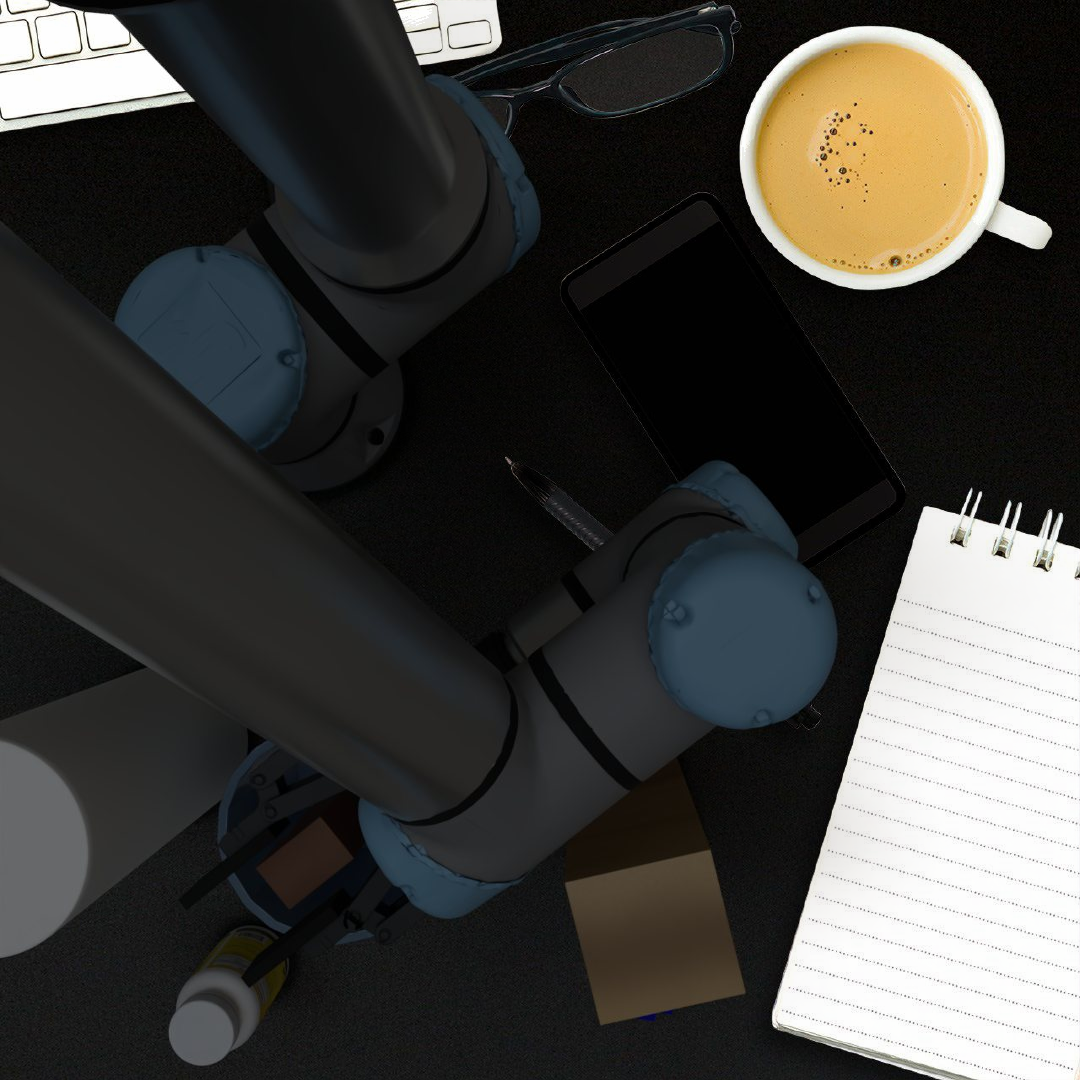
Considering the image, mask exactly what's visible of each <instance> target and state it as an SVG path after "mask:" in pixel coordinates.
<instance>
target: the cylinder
mask: <svg viewBox="0 0 1080 1080" xmlns="http://www.w3.org/2000/svg"><path fill="white" fill-rule="evenodd" d="M248 734H249V733H248V728H247V727H245V726H243V725H242V724H240V723H238V722H237V721H235V720H234V719H232V718H230V717H229V716H227V715H225V714H224V713H222V712H221V711H219V710H217V709H216V708H214V707H212V706H211V705H209V704H207V703H206V702H204V701H203V700H201V699H199V698H198V697H196V696H194V695H193V694H191V693H190V692H188V691H186V690H185V689H183V688H181V687H180V686H178V685H176V684H175V683H173V682H172V681H170V680H168V679H167V678H165V677H163V676H162V675H160V674H159V673H157V672H155V671H154V670H152V669H150V668H149V667H147V666H146V667H144V668H141V669H138V670H136V671H133V672H130V673H127V674H125V675H122V676H119V677H117V678H114V679H111V680H108V681H106V682H103V683H100V684H98V685H97V684H96V685H95V686H92V687H89V688H87V689H84V690H81V691H78V692H75V693H72V694H70V695H67V696H64V697H61V698H60V699H55V700H54V701H51V702H47V703H45V704H43V705H40V706H37V707H34V708H31V709H29V710H26V711H23V712H21V713H18V714H15V715H12V716H10V717H7V718H4V719H1V720H0V959H3V958H8V957H12V956H15V955H18V954H22V953H24V952H27V951H29V950H30V949H33V948H35V947H37V946H38V945H40V944H41V943H43V942H44V941H46V940H48V939H49V938H50V937H51V936H53V935H54V934H55V933H57V932H58V931H59V930H61V929H62V928H63V927H64V926H65V925H67V924H68V923H69V922H71V920H73V919H74V918H76V917H77V916H78V915H79V914H81V913H82V912H83V911H84V910H86V909H87V908H88V907H90V906H91V905H92V904H93V903H94V902H95V901H97V900H98V899H100V897H102V896H103V895H105V893H107V892H108V891H110V890H111V889H112V888H113V887H114V886H115V885H117V884H118V883H119V882H121V881H122V880H123V879H124V878H125V877H127V876H128V875H130V874H131V873H132V872H133V871H135V869H137V868H138V867H139V866H141V865H142V864H143V863H144V862H146V861H147V860H148V859H150V857H152V856H153V855H154V854H155V853H157V852H158V851H159V850H160V849H161V848H163V847H164V846H166V845H167V844H168V843H169V842H171V841H172V840H173V839H174V838H175V837H177V836H178V835H179V834H180V833H182V832H183V831H184V830H185V829H187V828H188V827H189V826H190V825H192V824H193V823H195V821H196V820H198V819H199V818H201V817H202V816H203V815H204V814H205V813H207V812H208V811H209V810H211V809H212V808H213V807H214V806H215V805H217V804H218V803H219V802H220V801H222V799H223V796H224V794H225V791H226V789H227V786H228V783H229V781H230V778H231V776H232V774H233V773H234V772H235V771H236V769H237V768H238V767H239V766H240V765H241V763H242V762H243V761H244V760H245V759H246V757H247V756H248V751H249V750H248V749H249V735H248Z"/></svg>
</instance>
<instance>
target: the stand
mask: <svg viewBox="0 0 1080 1080" xmlns="http://www.w3.org/2000/svg"><path fill="white" fill-rule="evenodd" d="M564 872H565V873H564V886H565V890H566V894H567V898H568V903H569V906H570V910H571V914H572V919H573V922H574V926H575V929H576V933H577V938H578V942H579V946H580V950H581V954H582V958H583V962H584V966H585V970H586V974H587V978H588V982H589V986H590V990H591V994H592V999H593V1002H594V1007H595V1010H596V1015H597V1018H598V1022H599V1025H600V1026H604V1025H608V1024H614V1023H619V1022H623V1021H627V1020H631V1019H637V1018H636V1017H641V1016H645V1015H650V1014H655V1013H656V1014H660V1012H664V1011H668V1010H673V1011H674V1010H678V1009H682V1008H686V1007H687V1008H688V1007H690V1006H695V1005H699V1004H705V1003H709V1002H714V1001H718V1000H722V999H727V998H732V997H736V996H740V995H746V994H747V991H746V987H745V983H744V980H743V976H742V970H741V967H740V962H739V958H738V955H737V951H736V946H735V943H734V939H733V933H732V931H731V926H730V923H729V918H728V914H727V910H726V906H725V902H724V898H723V894H722V890H721V886H720V882H719V878H718V874H717V869H716V865H715V862H714V858H713V853H712V850H711V847H710V844H709V841H708V839H707V836H706V833H705V830H704V828H703V825H702V822H701V819H700V817H699V814H698V811H697V809H696V806H695V803H694V801H693V797H692V795H691V792H690V789H689V787H688V784H687V781H686V779H685V776H684V773H683V770H682V768H681V765H680V762H679V759H678V756H677V757H675V758H674V759H673V760H671V761H670V762H669V763H668V764H666V765H665V766H664V767H662V768H661V769H660V770H658V771H657V772H656V773H654V774H653V775H652V776H651V777H649V778H648V779H647V780H645V781H643V782H642V783H640V784H639V785H638V786H636V787H635V788H634V789H632V790H631V791H630V792H629V793H627V794H626V795H625V796H624V797H622V798H621V799H620V800H619V801H617V802H616V803H615V804H614V805H612V806H611V807H610V808H609V809H607V810H606V811H605V812H603V813H602V814H601V815H600V816H598V817H597V818H596V819H595V820H593V821H592V822H591V823H590V824H588V825H587V826H586V827H584V828H583V829H582V830H581V831H579V832H578V833H577V834H576V835H574V836H573V837H572V838H571V839H569V840H568V841H567V842H566V853H565V871H564Z"/></svg>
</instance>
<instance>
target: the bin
mask: <svg viewBox="0 0 1080 1080" xmlns="http://www.w3.org/2000/svg"><path fill="white" fill-rule="evenodd" d="M280 749H281V748H279V747H278V746H276V745H274V744H273V743H271V742H269V741H268V740H266V739H265V740H264V741H262V742H260V743H259V744H258V745H257V746H256V747H254V748H253V749H252V750H251V751H250V752H249V754H247V757H246V759H245V760H244V761H243V762H242V763H241V765H240V766H239V767H238V768H237V769H236V771H235V772H234V773H233V774H232V776H231V778H230V781H229V783H228V786H227V789H226V791H225V794H224V796H223V799H221V800H220V801H221V802H220V804H219V808H218V821H217V838H216V842H217V847H218V850H219V855H220V858H221V862H222V861H223V860H224V859H226V858H227V856H226V855H225V854H224V852H223V851H222V850H221V849H220V848H219V846H218V844H219V842H220V840H221V838H222V837H223V836H224V835H225V834H226V833H227V832H228V831H229V830H231V829H232V828H233V827H234V826H235V825H237V824H238V823H239V822H240V821H242V820H243V819H244V818H245V817H247V816H248V815H249V814H250V813H252V812H253V811H254V810H255V809H257V807H258V804H259V797H258V794H257V791H256V789H254V788H253V787H252V786H251V785H250V783H249V777H250V774H251V773H252V771H253V770H255V769H256V768H257V767H258V766H260V765H261V764H262V763H263V762H265V761H266V760H267V759H268V758H270V757H271V756H272V755H273V754H275V753H276V752H277V751H278V750H280ZM317 772H318V771H317V770H315V769H313V768H312V767H310V766H309V765H307V764H305V763H304V762H302V761H300V762H299V763H297V764H296V765H295V766H294V767H292V768H291V769H290V770H288V771H287V772H286V773H285V774H283V775H284V778H285V780H286V783H287V786H289V785H291V784H293V783H296V782H298V781H300V780H302V779H304V778H306V777H309V776H311V775H313V774H315V773H317ZM312 806H313V805H312ZM312 806H310V807H308V808H305V809H303V810H301V811H299V812H297V813H294V814H292V815H290V816H288V817H287V819H288V820H289V821H290V822H291V823H290V824H289V825H288V826H287V828H286V829H285V830H284V831H283V832H282V833H281V834H280V835H279V836H278V837H277V838H276V839H275V840H274V841H273V842H271V843H270V844H269V845H268V846H266V847H265V848H264V849H263V850H261V851H260V852H259V853H258V854H256V855H255V856H254V857H253V858H251V859H250V860H249V861H248V862H246V863H245V864H244V865H243V866H241V867H240V868H239V869H238V870H236V871H235V872H234V873H233V874H231V875H230V876H229V877H228V878H227V880H228V881H229V883H230V885H231V886H232V888H233V889H234V892H235V893H236V895H237V896H238V897H239V900H240V901H241V902H242V904H243V905H244V907H245V908H246V909H248V910H249V911H250V912H251V913H252V914H254V915H255V917H257V918H258V919H259V920H260V921H262V922H263V923H264V924H265V925H267V926H268V927H269V928H270V929H272V930H274V931H276V932H279V933H282V934H284V933H286V932H287V931H288V930H289V929H291V928H292V927H293V926H294V925H296V924H297V923H298V922H299V921H301V920H302V919H303V918H305V917H306V916H307V915H308V914H310V913H311V912H312V911H313V910H315V909H316V908H317V907H318V906H320V905H321V904H322V903H323V902H325V901H326V900H327V899H328V898H330V897H331V896H332V895H334V894H335V893H336V892H337V891H339V890H340V889H341V888H342V887H343V888H344V889H345V891H346V892H347V893H348V894H349V895H350V897H351V898H352V897H354V896H355V895H356V893H357V892H358V891H359V889H360V888H361V887H362V885H363V884H364V883H365V881H366V880H367V879H368V877H369V876H370V875H371V873H372V872H373V871H374V870H375V868H376V867H377V866H378V864H377V862H376V861H375V859H374V857H373V856H372V854H371V852H370V850H369V848H368V846H367V844H366V841H365V843H364V844H363V846H362V847H361V849H360V850H359V852H358V854H357V855H356V857H355V858H354V859H353V860H352V861H351V862H350V863H348V864H347V865H346V866H345V867H343V868H342V869H341V870H340V871H338V872H337V873H336V874H334V875H333V876H332V877H331V878H329V879H328V880H327V881H326V882H324V883H323V884H322V885H321V886H319V887H318V888H317V889H316V890H314V891H313V892H312V893H311V894H309V895H308V896H307V897H306V898H304V899H303V900H302V901H301V902H299V903H298V904H297V905H295V906H294V907H293V908H292V909H290V910H289V909H288V908H287V907H286V905H285V904H284V903H283V902H282V900H281V899H280V898H279V897H278V895H277V894H276V893H275V892H274V890H273V889H272V888H271V887H270V885H269V884H268V883H267V882H266V881H265V879H264V878H263V877H262V876H261V874H260V873H259V872H258V871H257V869H256V867H257V866H258V864H259V863H260V862H261V861H262V860H263V859H264V858H265V857H266V856H267V855H268V853H269V852H270V851H271V850H272V849H273V848H274V847H275V846H276V845H277V844H278V842H279V841H280V840H281V839H282V838H283V837H284V836H285V835H286V834H287V833H288V831H289V830H290V829H291V828H292V827H293V826H294V825H295V824H296V823H297V822H298V820H299V819H300V818H301V817H302V816H303V815H304V814H305V813H306V812H307V811H308V809H309V808H311V807H312ZM404 894H405V893H404V891H403V890H402V889H401V888H400V887H397V886H394V885H393V886H392V887H391V889H390V890H389V891H388V892H387V894H386V895H385V896H384V898H383V899H382V900H381V901H382V902H384V903H385V904H387V905H388V906H390V905H391V904H393V903H394V902H395V901H396V900H398V899H399V898H400V897H401V896H403V895H404ZM351 898H350V899H351ZM372 937H375V936H374V935H373V934H372V933H370V932H368V931H367V930H364V929H360V930H359V931H358V932H356V933H349V934H347V935H346V936H345V937H343V938H342V939H341V940H340V941H338V942H337V943H336V944H335V945H334V946H339V945H344V944H348V943H352V942H353V943H354V942H356V941H362V940H365V939H370V938H372Z"/></svg>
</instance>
